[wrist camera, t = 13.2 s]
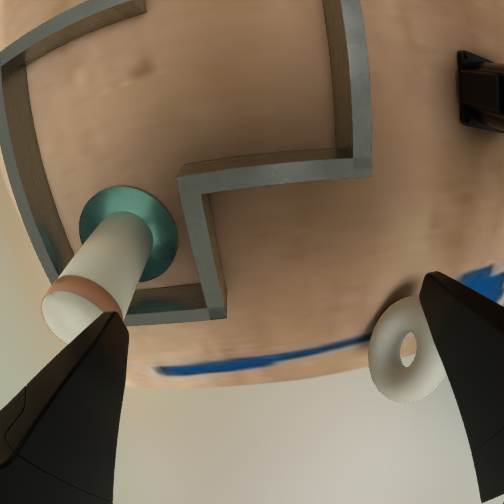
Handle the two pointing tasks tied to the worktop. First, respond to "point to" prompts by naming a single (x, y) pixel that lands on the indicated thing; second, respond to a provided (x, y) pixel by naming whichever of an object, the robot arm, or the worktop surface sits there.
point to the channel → (191, 175)
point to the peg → (99, 275)
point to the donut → (388, 353)
